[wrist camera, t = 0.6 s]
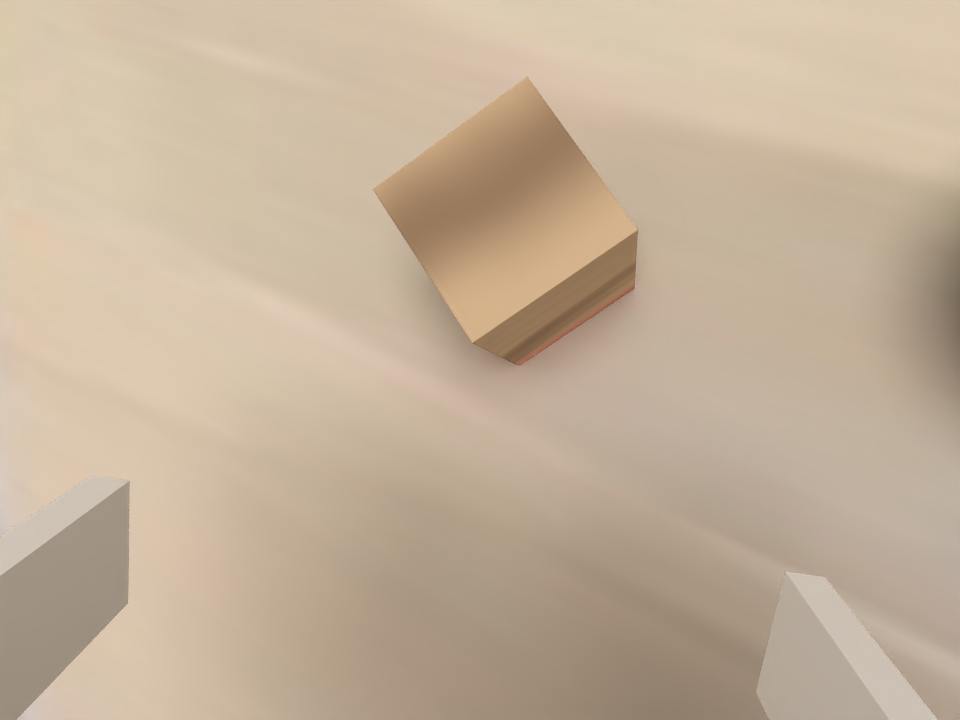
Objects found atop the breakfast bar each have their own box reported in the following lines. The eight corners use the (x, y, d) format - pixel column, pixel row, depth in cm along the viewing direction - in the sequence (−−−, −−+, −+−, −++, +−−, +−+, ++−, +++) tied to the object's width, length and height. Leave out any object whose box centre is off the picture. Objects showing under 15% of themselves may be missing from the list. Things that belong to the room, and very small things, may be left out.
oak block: (634, 288, 31) (637, 230, 22) (519, 365, 32) (472, 343, 22) (557, 179, 32) (527, 76, 23) (447, 257, 33) (372, 189, 23)
